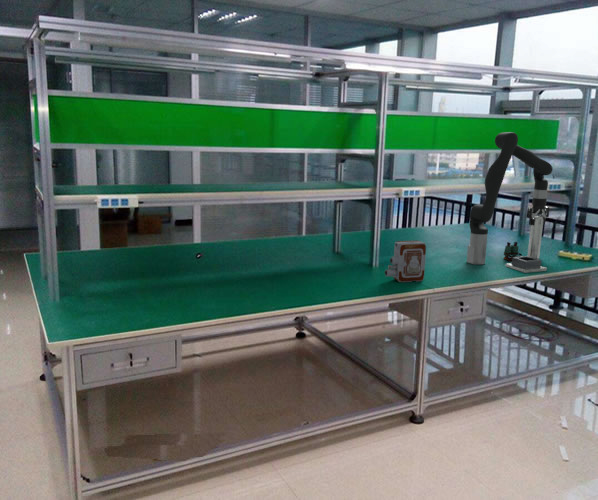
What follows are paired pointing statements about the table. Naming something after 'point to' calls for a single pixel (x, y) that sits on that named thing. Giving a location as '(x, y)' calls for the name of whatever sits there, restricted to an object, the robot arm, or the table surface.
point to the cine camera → (408, 261)
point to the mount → (526, 264)
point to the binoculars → (511, 251)
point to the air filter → (535, 237)
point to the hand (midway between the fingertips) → (536, 224)
